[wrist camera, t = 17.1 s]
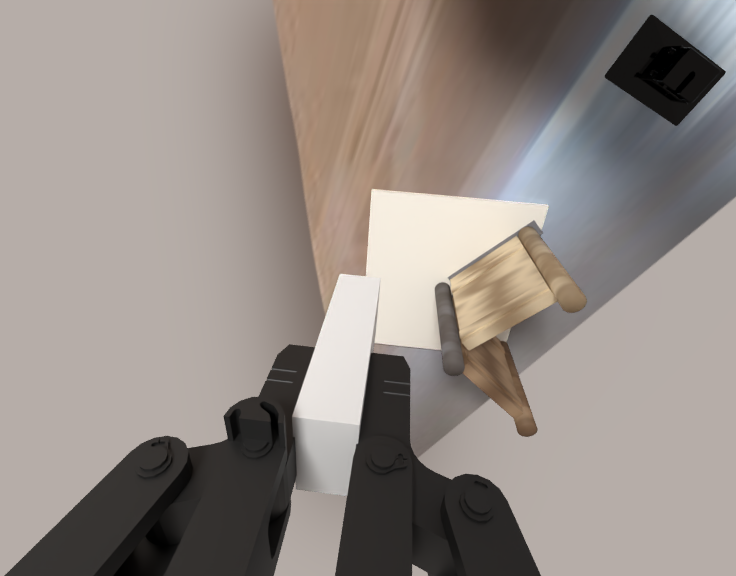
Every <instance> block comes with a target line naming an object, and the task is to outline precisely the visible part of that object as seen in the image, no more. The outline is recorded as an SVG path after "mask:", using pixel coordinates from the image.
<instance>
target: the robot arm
mask: <svg viewBox="0 0 736 576" xmlns="http://www.w3.org/2000/svg"><path fill="white" fill-rule="evenodd" d="M380 281H381V278H375V277H366V276H356V275H347V274H340V275H339V278H338V281H337V284H336V287H335V290H334V293H333V296H332V299H331V302H330V305H329V308H328V311H327V314H326V317H325V320H324V323H323V326H322V329H321V332H320V335H319V338H318V341H317V344H316V347H307V346H298V345H288V346H287V347H286V348H285V349H284V350H283V351H281V353H279V354H278V355H277V357H276V359H275V362H274V364H273V366H272V370H271V371H270V373H269V375H268V377H267V381H265V384H264V386H263V388H262V390H261V393H260V395H259V397H251V398H248V399H245V400H241V401H239V402H238V403H236V404H235V405H233V406H232V407H230V409H229V410H228V411H227V413H226V414H225V415H224V421H225V425H226V431H227V436H228V439H227V440H225V441H222V442H220V443H215V444H211V445H205V446H199V447H192V448H187V447H186V444H185V443H184V442H183V441H181V440H180V439H178V438H176V437H170V436H164V437H157V438H153V439H151V440H148V441H146V442H144V443H142V444H140V445H139V446H138V447H136V448H135V449H134V450H132V451H131V452H130V453H129V454H128V455H127V456H126V457H125V458H124V459H123V460H122V461H121V462H120V463H119V464H118V465H117V466H116V467H115V468H114V469H113V470H112V471H111V472H110V473H109V474H108V475H107V476H105V477H104V478H103V479H102V481H100V482H99V483H98V484H97V485H96V486H95V487H94V488H93V489H92V490H91V491H90V492H89V493H88V494H87V495H86V496H85V497H84V498H83V499H82V500H81V501H80V502H79V503H78V504H77V505H76V506H75V507H74V508H73V509H72V510H71V511H70V512H69V513H68V514H67V515H66V516H65V517H64V518H63V519H62V520H61V521H60V522H59V523H58V524H57V525H56V526H55V527H54V528H53V529H52V530H51V531H50V532H48V534H46V535H45V537H43V538H42V539H41V540H40V541H39V542H38V543H37V544H36V545H35V546H34V547H33V548H32V549H31V550H30V551H29V552H28V553H27V554H26V555H25V556H24V557H23V558H22V559H21V560H20V561H19V562H18V563H17V564H16V565H15V566H14V567H13V568H12V569H11V570H10V571H9V572H8V573H7V574H6V575H5V576H274V572H275V569H276V565H277V561H278V557H279V554H280V550H281V546H282V542H283V538H284V535H285V531H286V527H287V524H288V519H289V516H290V510H291V494H292V490H293V487H294V483H295V480H296V489H298V490H305V491H314V492H320V493H328V494H335V495H342V496H347V501H346V508H345V514H344V521H343V527H342V535H341V541H340V547H339V553H338V560H337V567H336V573H335V576H412V564H413V565H415V566H417V567H419V568H421V569H423V570H424V571H426V572H428V576H541V575H540V573H539V571H538V568H537V566H536V564H535V562H534V560H533V557H532V555H531V553H530V550H529V548H528V546H527V544H526V542H525V540H524V537H523V535H522V533H521V531H520V528H519V526H518V524H517V522H516V519H515V517H514V515H513V513H512V510H511V508H510V506H509V504H508V501H507V500H506V498H505V497H504V495H503V494H502V492H501V490H500V489H499V488H498V487H496V486H495V485H494V484H493V483H492V482H491V481H490V480H488V479H485V478H483V477H480V476H479V475H472V474H463V475H460V476H457V477H455V478H454V479H453V480H451V479H449V478H446V477H444V476H442V475H440V474H438V473H435V472H434V471H432V470H430V469H428V468H427V467H425V466H424V465H423V464H422V463H421V462H420V461H419V460H418V459H417V457H416V456H415V455H414V453H413V450H412V448H411V444H410V368H409V366H408V364H407V362H406V360H405V358H404V357H403V356H394V355H386V354H377V353H373V351H374V343H375V335H376V324H377V314H378V303H379V292H380Z"/></svg>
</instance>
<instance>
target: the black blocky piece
mask: <svg viewBox="0 0 736 576" xmlns="http://www.w3.org/2000/svg"><path fill="white" fill-rule="evenodd" d="M724 74H725V71H724V70H723V69H722V68H721V67H719V66H718V65H717V64H715V63H714V62H713V61H712V60H710V59H709V58H708V57H706V56H705V55H704V54H703V53H701V52H700V51H699V50H697V49H696V48H695V47H694V46H692V45H691V44H690V43H688V42H687V41H686V40H685V39H683V38H682V37H681V36H679V35H678V34H677V33H676V32H674V31H673V30H672V29H670V28H669V27H668V26H667V25H665V24H664V23H663V22H661V21H660V20H659V19H658V18H656V17H655V16H654V15H650V16H649V17H648V19H647V20H646V21H645V23H644V24H643V25H642V27H641V28H640V29H639V31H638V32H637V33H636V35H635V36H634V37H633V39H632V40H631V41H630V43H629V44H628V45H627V47H626V48H625V49H624V51H623V52H622V53H621V55H620V56H619V57H618V59H617V60H616V61H615V63H614V64H613V65H612V67H611V68H610V69H609V71H608V72H607V73H606V75H605V78H606V79H608V80H609V81H611V82H612V83H614V84H615V85H617V86H618V87H620V88H621V89H622V90H624V91H625V92H627V93H628V94H630V95H631V96H633V97H634V98H636V99H637V100H639V101H640V102H642V103H643V104H644V105H646V106H647V107H649V108H650V109H652V110H653V111H655V112H656V113H658V114H659V115H661V116H662V117H664V118H665V119H667V120H668V121H669V122H671V123H672V124H674V125H675V126H677V125H678V124H679V123H680V122H681V121H682V120H683V119H684V118H685V117H686V116H687V115H688V114H689V112H690V111H691V110H692V109H693V108H694V107H695V106H696V105H697V104H698V103H699V102H700V100H701V99H702V98H703V97H704V96H705V95H706V94H707V93H708V92H709V91H710V90H711V89H712V87H713V86H714V85H715V84H716V83H717V82H718V81H719V80H720V79H721V78H722V77H723V76H724Z"/></svg>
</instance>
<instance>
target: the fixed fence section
mask: <svg viewBox="0 0 736 576" xmlns="http://www.w3.org/2000/svg"><path fill="white" fill-rule="evenodd" d="M450 282H451V289H450V286H449V284H447V283H445V282H441V283H438V284H437V285H436V286H435V298H436V306H437V315H438V324H439V333H440V342H441V351H442V360H443V368H444V371H445V373H446V374H448V375H451V376H457V375H460V374H462V373H463V371H464V369H465V366H464V360H463V355H462V349H461V344H460V339H461V340H462V344H463V345H464V346H465V347H466V348H467V349H468V350H471V349H473V348H475V347H477V346H478V345H480V344H482V343H484V342H486V341H487V340H489V339H491V338H493V337H495V336H496V335H498V334H500V333H502V332H504V331H505V330H507V329H509V328H511V327H513V326H514V325H516V324H518V323H520V322H522V321H523V320H525V319H527V318H529V317H530V316H532V315H534V314H536V313H538V312H539V311H541V310H543V309H545V308H547V307H548V306H550V305H552V304H554V303H556V302H557V301H558V302H559V304H560V306H561V307H562V309H563V310H564V311H566V312H569V313H574V312H578V311H580V310H581V309H583V308H584V307H585V305H586V303H587V299H586V297H585V295H584V294H583V293H582V291H581V290H580V289H579V287H578V286H577V285H576V283H575V282H574V281H573V279H572V278H571V277H570V275H569V274H568V273H567V271H566V270H565V269H564V267H563V266H562V265H561V263H560V262H559V261H558V259H557V258H556V257H555V255H554V254H553V253H552V251H551V250H550V249H549V247H548V246H547V245H546V243H545V242H544V241H543V239H542V238H541V237H540V235H539V234H538V233H537V232H536V230H535V229H534V228H533V227H530V226H527V227H524V228H522V229H521V230H520V231H519V233H518V237H517V236H515V237H514V238H512V239H511V240H509V241H508V242H506V243H505V244H503V245H502V246H500V247H499V248H497V249H496V250H494V251H493V252H491V253H490V254H488V255H487V256H485V257H483V258H482V259H480V260H479V261H477V262H476V263H474V264H473V265H471V266H470V267H468V268H467V269H465V270H464V271H462V272H461V273H459V274H458V275H456V276H455V277H453V278H452V279H450ZM451 291H452V293H453V298H454V303H455V308H456V314H457V319H458V324H459V329H460V331H459V333H458V327H457V322H456V317H455V311H454V306H453V300H452V295H451ZM459 334H460V338H459Z"/></svg>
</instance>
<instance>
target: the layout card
mask: <svg viewBox="0 0 736 576" xmlns="http://www.w3.org/2000/svg"><path fill="white" fill-rule="evenodd" d="M548 208H549V206H548V205H547V204H536V203H524V202H513V201H502V200H490V199H479V198H468V197H456V196H445V195H433V194H422V193H411V192H399V191H388V190H377V189H372V194H371V209H370V223H369V238H368V253H367V268H366V277H375V278H381V281H380V292H379V303H378V314H377V324H376V335H375V343H378V344H387V345H397V346H406V347H415V348H425V349H434V350H441V342H440V333H439V324H438V315H437V306H436V298H435V286H436V285H437V284H438V283H441V282H445V283H447V284H449V286H450V289H451V282H450V279H452V278H453V277H455V276H456V275H458V274H459V273H461V272H462V271H464V270H465V269H467V268H468V267H470V266H471V265H473V264H474V263H476V262H477V261H479V260H480V259H482V258H483V257H485V256H487V255H488V254H490V253H491V252H493V251H494V250H496V249H497V248H499V247H500V246H502V245H503V244H505V243H506V242H508V241H509V240H511V239H512V238H514V237H515V236H517V237H518V233H519V231H520V230H521V229H522V228H524V227H527V226H530V227H533V228H534V229H535V230H536V232H537V233H538V234H539V235H541V234H542V233H543V232H542V231H541V230H542V227H543V224H544V221H545V217H546V214H547V211H548ZM451 295H452V298H453V293H452V291H451ZM510 330H511V328H509V329H507V330H505V331H504V332H502V333H500V334H498V335H496V337H497V338H498V339H499V340H500V341H505V342H506V343H507V340H508V336H509V333H510Z"/></svg>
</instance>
